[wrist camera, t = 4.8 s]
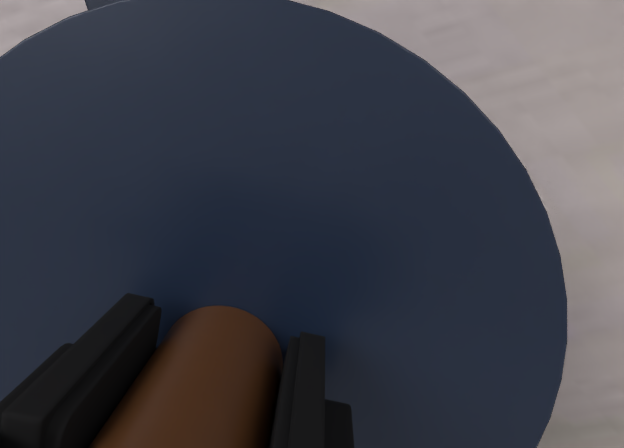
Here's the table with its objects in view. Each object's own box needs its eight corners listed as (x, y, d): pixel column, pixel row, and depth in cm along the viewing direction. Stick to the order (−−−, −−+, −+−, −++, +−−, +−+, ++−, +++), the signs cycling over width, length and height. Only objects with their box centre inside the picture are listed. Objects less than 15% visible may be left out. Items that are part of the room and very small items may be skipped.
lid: (510, -80, 9) (959, -525, 3) (565, 529, 13) (802, 955, 6) (-182, 91, 10) (-1017, 77, 4) (57, 597, 14) (-167, 1007, 8)
